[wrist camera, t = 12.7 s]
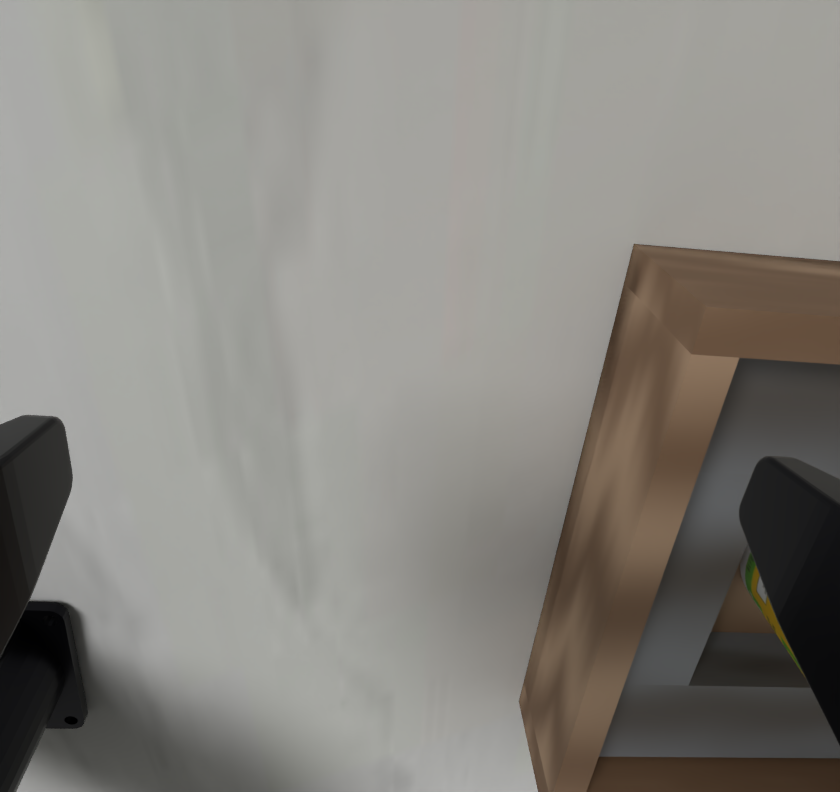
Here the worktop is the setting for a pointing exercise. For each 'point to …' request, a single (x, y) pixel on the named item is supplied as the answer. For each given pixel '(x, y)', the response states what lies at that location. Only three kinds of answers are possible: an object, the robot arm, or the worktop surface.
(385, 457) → the worktop surface
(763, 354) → the tray
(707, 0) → the worktop surface
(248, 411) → the worktop surface
